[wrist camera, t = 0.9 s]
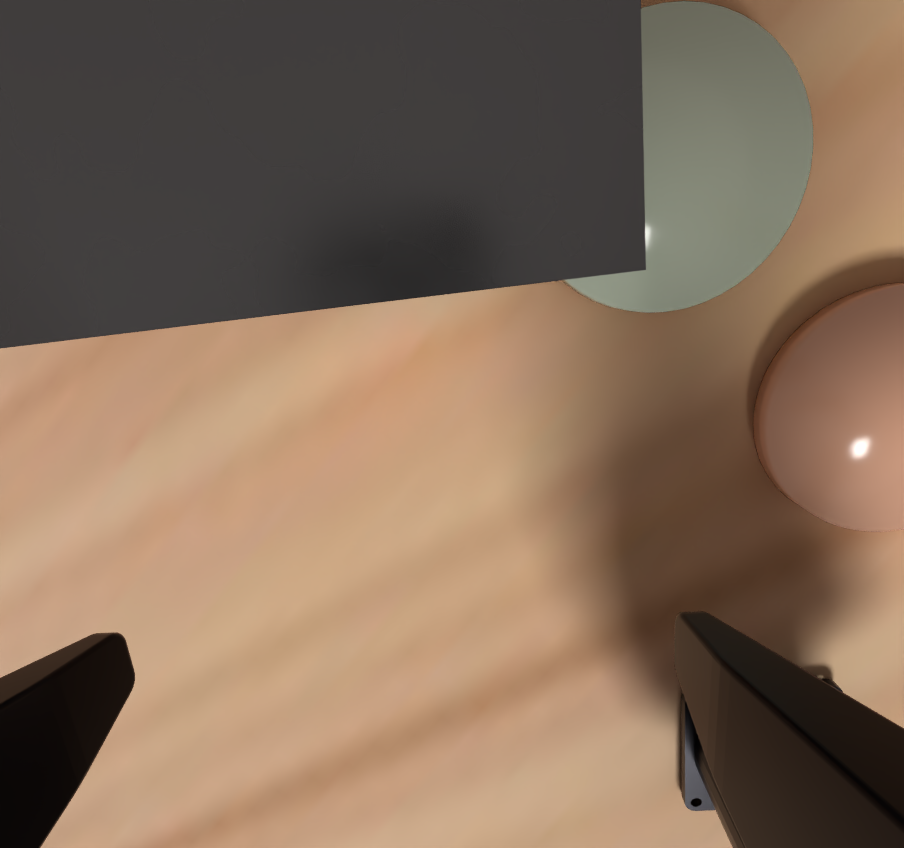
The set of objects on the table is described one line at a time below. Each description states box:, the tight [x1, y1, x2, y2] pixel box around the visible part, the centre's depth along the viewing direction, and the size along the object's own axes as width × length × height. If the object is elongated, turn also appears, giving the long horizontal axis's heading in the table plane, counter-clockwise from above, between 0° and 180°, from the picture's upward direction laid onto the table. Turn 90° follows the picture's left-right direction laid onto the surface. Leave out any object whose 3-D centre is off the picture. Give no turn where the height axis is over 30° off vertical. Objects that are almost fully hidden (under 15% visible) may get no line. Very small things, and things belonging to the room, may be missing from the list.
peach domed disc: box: [753, 283, 904, 532], centre depth 18 cm, size 9×9×1 cm
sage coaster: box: [562, 1, 813, 313], centre depth 17 cm, size 9×9×1 cm
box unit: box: [0, 0, 646, 348], centre depth 13 cm, size 6×13×10 cm, turn 97°
